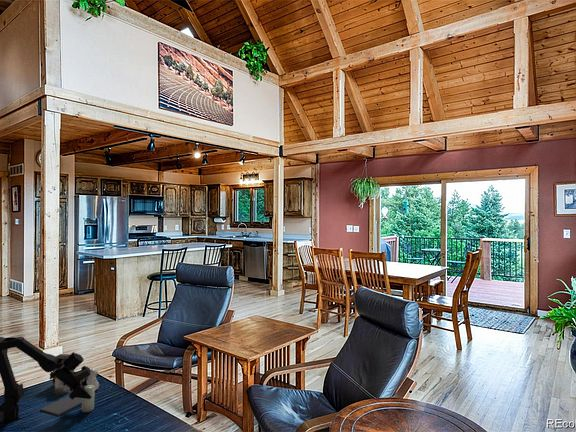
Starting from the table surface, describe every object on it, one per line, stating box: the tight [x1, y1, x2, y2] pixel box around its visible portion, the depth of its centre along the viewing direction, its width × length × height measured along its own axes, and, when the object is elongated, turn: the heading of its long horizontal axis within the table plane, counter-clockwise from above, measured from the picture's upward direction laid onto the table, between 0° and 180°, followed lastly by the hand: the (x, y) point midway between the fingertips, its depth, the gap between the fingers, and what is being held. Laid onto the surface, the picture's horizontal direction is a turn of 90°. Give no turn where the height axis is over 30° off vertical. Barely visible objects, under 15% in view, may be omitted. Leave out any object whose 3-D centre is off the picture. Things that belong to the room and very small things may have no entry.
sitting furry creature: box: [87, 368, 100, 391], centre depth 205 cm, size 10×9×12 cm
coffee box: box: [52, 353, 75, 387], centre depth 213 cm, size 9×6×16 cm
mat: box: [40, 395, 82, 417], centre depth 187 cm, size 16×13×1 cm
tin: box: [54, 378, 71, 396], centre depth 202 cm, size 7×7×8 cm
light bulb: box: [81, 385, 95, 413], centre depth 184 cm, size 6×6×11 cm
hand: (91, 395), depth 184 cm, fingers closed on light bulb, 5 cm apart
